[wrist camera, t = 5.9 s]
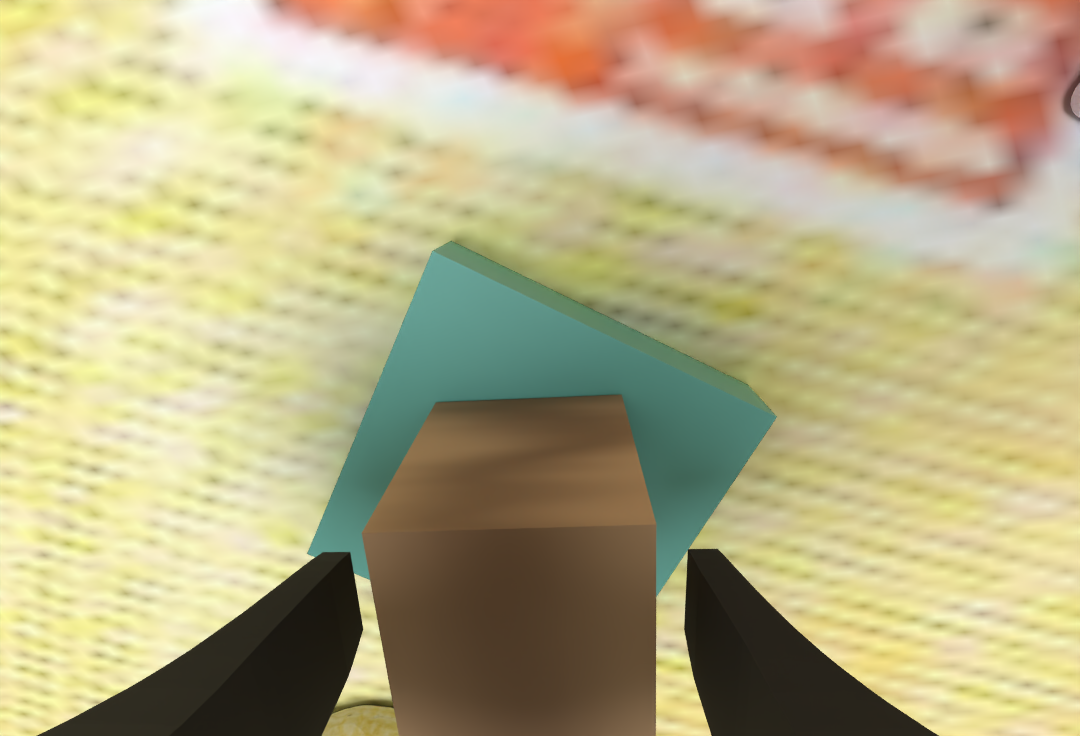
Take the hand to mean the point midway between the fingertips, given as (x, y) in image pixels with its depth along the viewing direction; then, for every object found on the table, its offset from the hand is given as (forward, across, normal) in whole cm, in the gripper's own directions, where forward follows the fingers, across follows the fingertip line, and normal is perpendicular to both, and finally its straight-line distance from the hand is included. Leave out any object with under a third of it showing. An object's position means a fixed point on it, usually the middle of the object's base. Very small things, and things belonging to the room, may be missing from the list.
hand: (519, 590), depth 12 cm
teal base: (+7, 0, 0) cm, 7 cm away
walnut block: (+4, 0, 0) cm, 4 cm away
